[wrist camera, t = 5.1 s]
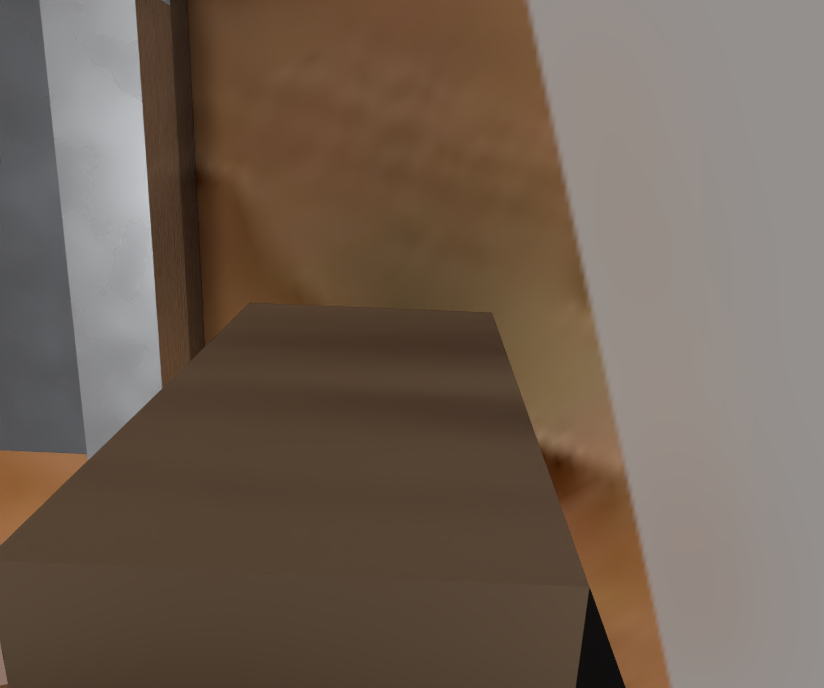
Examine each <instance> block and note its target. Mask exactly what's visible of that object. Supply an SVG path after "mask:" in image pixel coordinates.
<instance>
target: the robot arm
mask: <svg viewBox="0 0 824 688" xmlns="http://www.w3.org/2000/svg"><path fill="white" fill-rule="evenodd" d="M0 688H9V687H8V684H6V685H1V686H0ZM576 688H625V685H624V682H623V679H622V677H621V674H620V671H619V668H618V665H617V662H616V660H615V657H614V654H613V651H612V648H611V646H610V643H609V640H608V637H607V634H606V632H605V629H604V626H603V623H602V620H601V618H600V615H599V612H598V609H597V606H596V604H595V601H594V598H593V595H592V592H591V590H590V588H589V594H588V601H587V608H586V616H585V623H584V630H583V637H582V645H581V652H580V659H579V666H578V674H577V681H576Z"/></svg>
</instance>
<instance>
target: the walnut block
mask: <svg viewBox="0 0 824 688" xmlns="http://www.w3.org/2000/svg"><path fill="white" fill-rule="evenodd" d="M588 594H589V585H588V582H587V579H586V576H585V573H584V570H583V568H582V565H581V562H580V559H579V556H578V554H577V551H576V548H575V545H574V542H573V540H572V537H571V534H570V531H569V528H568V525H567V523H566V520H565V517H564V514H563V511H562V509H561V506H560V503H559V500H558V497H557V495H556V492H555V489H554V486H553V483H552V480H551V478H550V475H549V472H548V469H547V466H546V464H545V461H544V458H543V455H542V452H541V450H540V447H539V444H538V441H537V438H536V436H535V433H534V430H533V427H532V424H531V421H530V419H529V416H528V413H527V410H526V407H525V405H524V402H523V399H522V396H521V393H520V391H519V388H518V385H517V382H516V379H515V376H514V374H513V371H512V368H511V365H510V362H509V360H508V357H507V354H506V351H505V348H504V346H503V343H502V340H501V337H500V334H499V332H498V329H497V326H496V323H495V320H494V317H493V315H492V313H487V312H463V311H438V310H413V309H389V308H364V307H340V306H315V305H290V304H266V303H249V304H248V305H247V306H246V307H245V308H244V309H243V310H242V311H241V312H240V313H239V314H238V315H237V316H236V317H235V318H234V319H233V320H232V321H231V322H230V323H229V324H228V325H227V326H226V327H225V328H224V329H223V330H222V331H221V332H220V333H219V334H218V335H217V336H216V337H214V338H213V339H212V340H211V341H210V342H209V343H208V344H207V345H206V346H205V347H204V348H203V349H202V350H201V351H200V352H199V353H198V354H197V355H196V356H195V357H194V358H193V359H192V360H191V361H190V362H189V363H188V364H187V365H186V366H185V367H184V368H183V369H182V370H181V371H180V372H179V373H177V374H176V375H175V376H174V377H173V378H172V379H171V380H170V381H169V382H168V383H167V384H166V385H165V386H164V387H163V388H162V389H161V390H160V391H159V392H158V393H157V394H156V395H155V396H154V397H153V398H152V399H151V400H150V401H149V402H148V403H147V404H146V405H145V406H144V407H143V408H142V409H140V410H139V411H138V412H137V413H136V414H135V415H134V416H133V417H132V418H131V419H130V420H129V421H128V422H127V423H126V424H125V425H124V426H123V427H122V428H121V429H120V430H119V431H118V432H117V433H116V434H115V435H114V436H113V437H112V438H111V439H110V440H109V441H108V442H107V443H106V444H105V445H103V446H102V447H101V448H100V449H99V450H98V451H97V452H96V453H95V454H94V455H93V456H92V457H91V458H90V459H89V460H88V461H87V462H86V463H85V464H84V465H83V466H82V467H81V468H80V469H79V470H78V471H77V472H76V473H75V474H74V475H73V476H72V477H71V478H70V479H69V480H67V481H66V482H65V483H64V484H63V485H62V486H61V487H60V488H59V489H58V490H57V491H56V492H55V493H54V494H53V495H52V496H51V497H50V498H49V499H48V500H47V501H46V502H45V503H44V504H43V505H42V506H41V507H40V508H39V509H38V510H37V511H36V512H35V513H34V514H33V515H32V516H30V517H29V518H28V519H27V520H26V521H25V522H24V523H23V524H22V525H21V526H20V527H19V528H18V529H17V530H16V531H15V532H14V533H13V534H12V535H11V536H10V537H9V538H8V539H7V540H6V541H5V542H4V543H3V544H2V545H1V546H0V643H1V649H2V654H3V660H4V665H5V670H6V676H7V681H8V687H9V688H576V681H577V674H578V666H579V659H580V652H581V645H582V637H583V630H584V623H585V616H586V608H587V601H588Z"/></svg>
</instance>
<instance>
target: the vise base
mask: <svg viewBox="0 0 824 688" xmlns="http://www.w3.org/2000/svg"><path fill="white" fill-rule="evenodd" d="M203 348H204V328H203V308H202V288H201V268H200V248H199V228H198V208H197V188H196V168H195V148H194V128H193V108H192V89H191V69H190V49H189V29H188V9H187V0H0V450H9V451H31V452H54V453H76V454H87V459H88V460H89V459H90V458H91V457H92V456H93V455H94V454H95V453H96V452H97V451H98V450H99V449H100V448H101V447H102V446H103V445H105V444H106V443H107V442H108V441H109V440H110V439H111V438H112V437H113V436H114V435H115V434H116V433H117V432H118V431H119V430H120V429H121V428H122V427H123V426H124V425H125V424H126V423H127V422H128V421H129V420H130V419H131V418H132V417H133V416H134V415H135V414H136V413H137V412H138V411H139V410H140V409H142V408H143V407H144V406H145V405H146V404H147V403H148V402H149V401H150V400H151V399H152V398H153V397H154V396H155V395H156V394H157V393H158V392H159V391H160V390H161V389H162V388H163V387H164V386H165V385H166V384H167V383H168V382H169V381H170V380H171V379H172V378H173V377H174V376H175V375H176V374H177V373H179V372H180V371H181V370H182V369H183V368H184V367H185V366H186V365H187V364H188V363H189V362H190V361H191V360H192V359H193V358H194V357H195V356H196V355H197V354H198V353H199V352H200V351H201V350H202V349H203Z"/></svg>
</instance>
